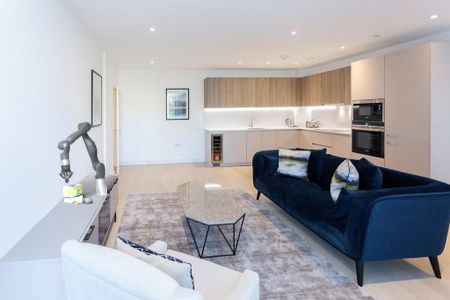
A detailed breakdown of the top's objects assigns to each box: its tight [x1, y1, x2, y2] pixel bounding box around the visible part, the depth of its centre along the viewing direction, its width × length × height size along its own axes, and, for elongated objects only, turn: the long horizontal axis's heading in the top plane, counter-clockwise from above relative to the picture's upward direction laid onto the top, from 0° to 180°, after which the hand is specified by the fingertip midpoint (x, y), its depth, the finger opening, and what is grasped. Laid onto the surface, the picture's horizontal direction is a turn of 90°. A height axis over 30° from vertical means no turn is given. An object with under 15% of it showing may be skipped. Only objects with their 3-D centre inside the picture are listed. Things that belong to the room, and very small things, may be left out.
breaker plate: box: [71, 198, 93, 206], centre depth 333 cm, size 14×11×2 cm
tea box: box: [63, 183, 84, 203], centre depth 343 cm, size 15×10×15 cm, turn 168°
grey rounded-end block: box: [84, 197, 92, 205], centre depth 328 cm, size 5×5×5 cm
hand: (67, 182), depth 326 cm, fingers closed
